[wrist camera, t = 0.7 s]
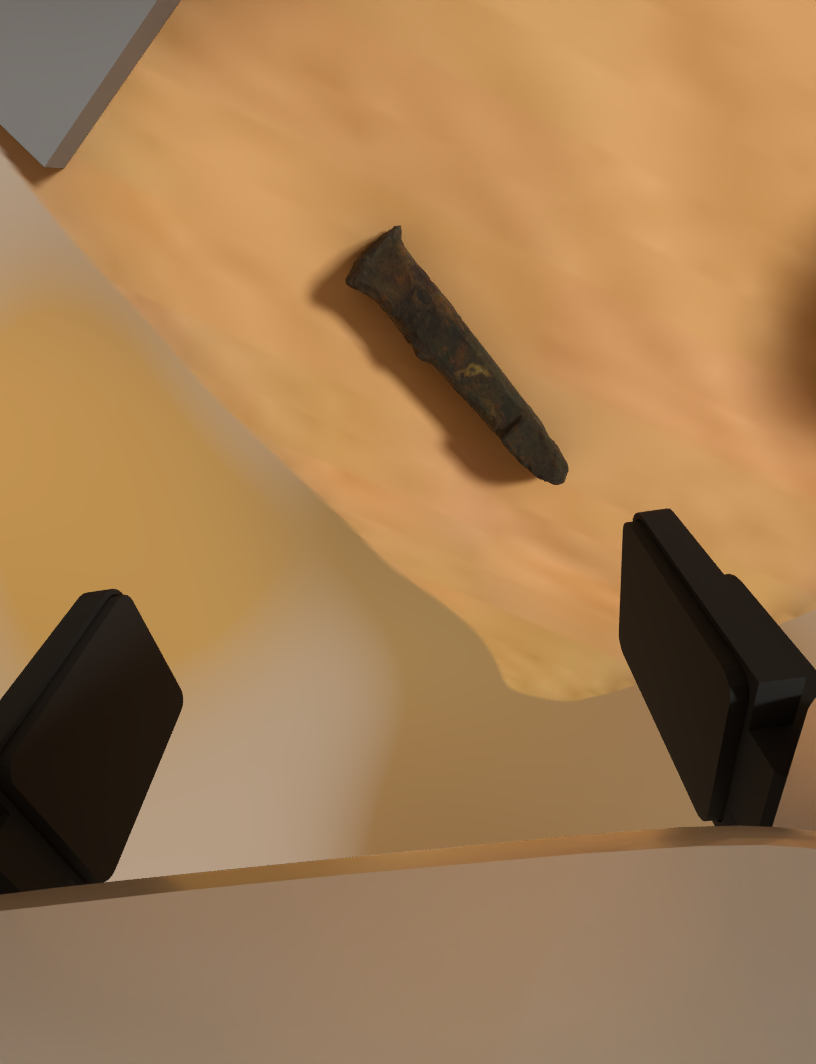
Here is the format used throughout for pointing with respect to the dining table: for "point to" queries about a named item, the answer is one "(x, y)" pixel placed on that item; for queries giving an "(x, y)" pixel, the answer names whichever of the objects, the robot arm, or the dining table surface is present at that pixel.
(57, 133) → the base plate
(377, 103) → the dining table surface
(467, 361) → the hand tool
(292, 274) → the dining table surface
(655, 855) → the robot arm
